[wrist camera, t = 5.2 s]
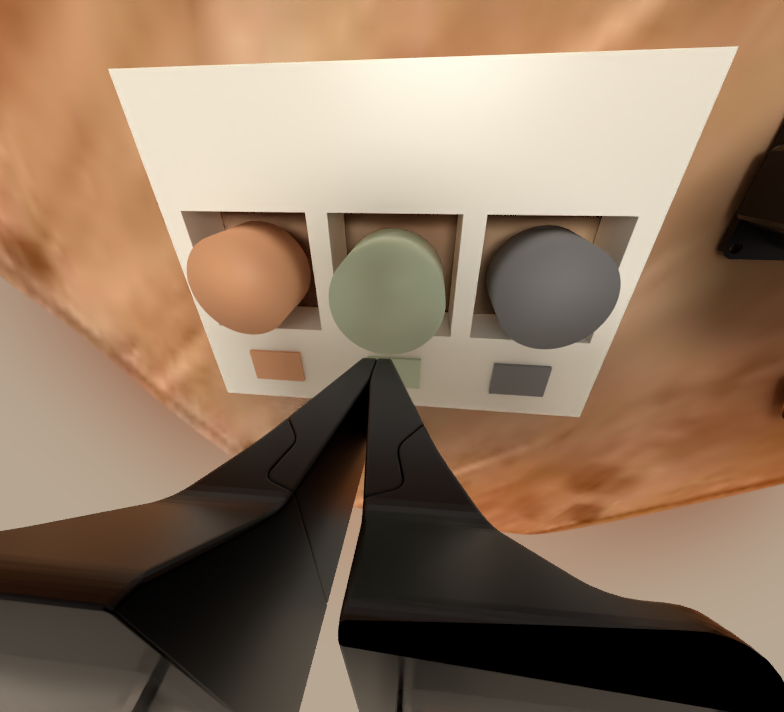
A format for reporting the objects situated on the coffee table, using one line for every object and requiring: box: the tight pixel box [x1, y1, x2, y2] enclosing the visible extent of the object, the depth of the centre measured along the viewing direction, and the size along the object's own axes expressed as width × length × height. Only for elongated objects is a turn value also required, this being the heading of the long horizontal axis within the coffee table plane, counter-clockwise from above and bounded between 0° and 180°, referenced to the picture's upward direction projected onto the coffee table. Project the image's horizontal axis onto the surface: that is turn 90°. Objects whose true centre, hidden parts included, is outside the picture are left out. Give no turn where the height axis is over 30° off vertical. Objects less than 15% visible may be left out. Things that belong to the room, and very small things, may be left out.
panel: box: [108, 46, 739, 417], centre depth 17 cm, size 22×16×3 cm
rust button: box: [187, 221, 311, 335], centre depth 16 cm, size 5×5×3 cm
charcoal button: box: [487, 225, 621, 349], centre depth 15 cm, size 5×5×3 cm
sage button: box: [329, 228, 446, 355], centre depth 14 cm, size 5×5×3 cm
